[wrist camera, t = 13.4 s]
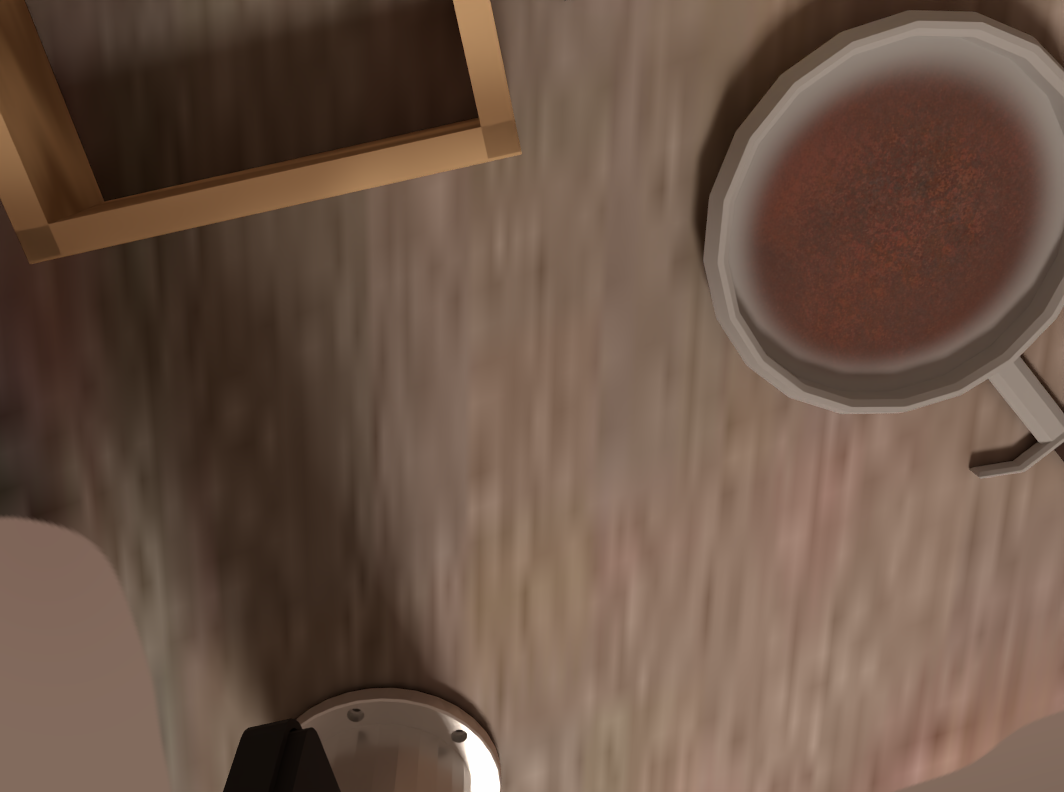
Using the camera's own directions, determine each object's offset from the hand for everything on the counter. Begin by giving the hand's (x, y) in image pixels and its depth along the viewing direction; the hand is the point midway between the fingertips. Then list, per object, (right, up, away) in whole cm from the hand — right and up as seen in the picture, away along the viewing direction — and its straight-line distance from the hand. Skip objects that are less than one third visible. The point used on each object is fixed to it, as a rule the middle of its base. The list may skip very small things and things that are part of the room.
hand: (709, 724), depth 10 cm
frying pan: (+17, +8, +29) cm, 35 cm away
